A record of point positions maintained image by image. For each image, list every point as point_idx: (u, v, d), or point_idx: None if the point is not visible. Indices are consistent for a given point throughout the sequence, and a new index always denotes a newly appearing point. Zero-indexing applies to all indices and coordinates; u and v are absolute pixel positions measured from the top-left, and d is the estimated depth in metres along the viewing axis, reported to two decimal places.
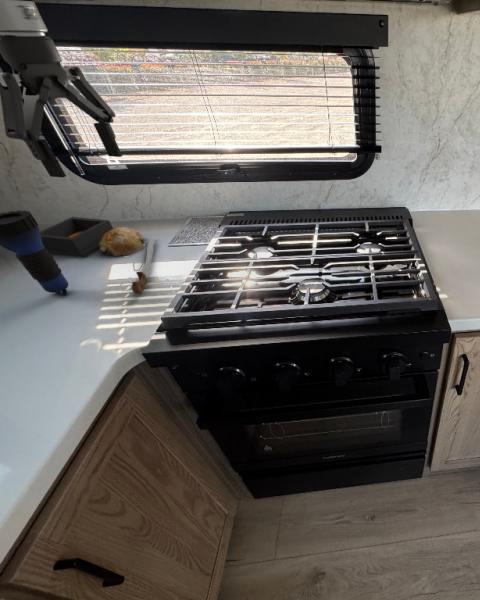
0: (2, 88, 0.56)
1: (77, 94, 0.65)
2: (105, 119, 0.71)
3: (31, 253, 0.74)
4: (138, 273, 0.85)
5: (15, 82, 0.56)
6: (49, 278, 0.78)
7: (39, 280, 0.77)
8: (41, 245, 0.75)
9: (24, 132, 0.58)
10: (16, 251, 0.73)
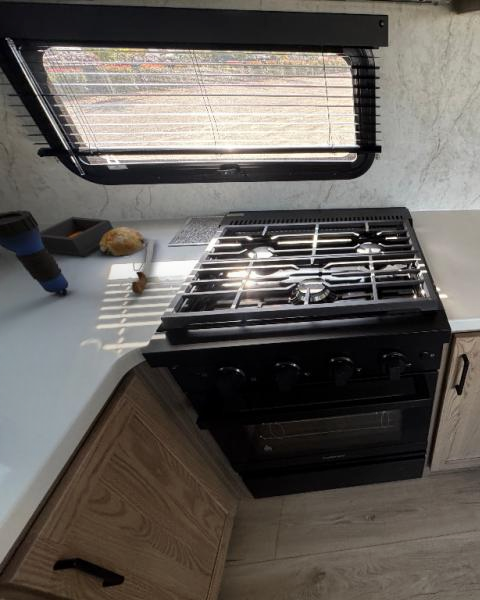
0: None
1: None
2: None
3: (31, 253, 0.74)
4: (138, 273, 0.85)
5: None
6: (49, 278, 0.78)
7: (39, 280, 0.77)
8: (41, 245, 0.75)
9: None
10: (16, 251, 0.73)
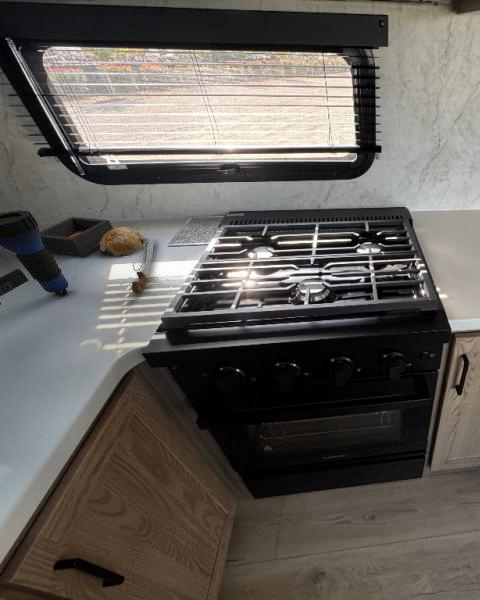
0: None
1: None
2: None
3: (31, 253, 0.74)
4: (138, 273, 0.85)
5: None
6: (49, 278, 0.78)
7: (39, 280, 0.77)
8: (41, 245, 0.75)
9: None
10: (16, 251, 0.73)
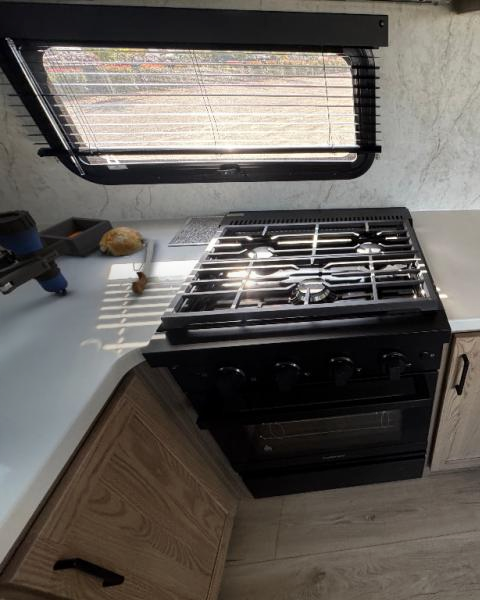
0: (14, 285, 0.68)
1: None
2: (5, 254, 0.74)
3: (30, 252, 0.74)
4: (138, 273, 0.85)
5: None
6: (48, 278, 0.78)
7: (38, 280, 0.77)
8: (39, 244, 0.75)
9: (36, 260, 0.72)
10: (14, 250, 0.73)
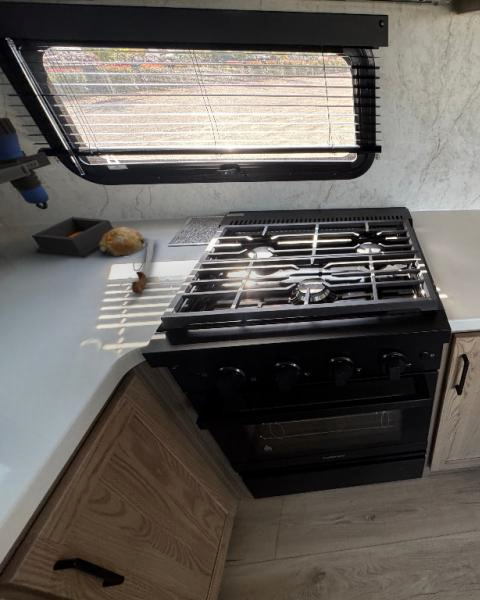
0: None
1: None
2: None
3: (10, 159, 0.77)
4: (138, 273, 0.85)
5: None
6: (29, 187, 0.81)
7: (19, 188, 0.80)
8: (20, 153, 0.78)
9: (16, 164, 0.75)
10: None
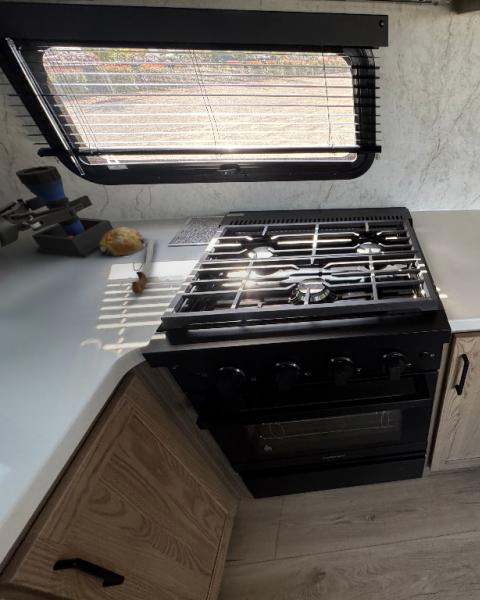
0: (43, 225, 0.85)
1: (10, 210, 0.86)
2: (22, 202, 0.91)
3: (56, 200, 0.92)
4: (138, 273, 0.85)
5: (31, 219, 0.83)
6: (70, 223, 0.95)
7: (62, 224, 0.95)
8: (63, 194, 0.93)
9: (66, 208, 0.89)
10: (44, 198, 0.90)
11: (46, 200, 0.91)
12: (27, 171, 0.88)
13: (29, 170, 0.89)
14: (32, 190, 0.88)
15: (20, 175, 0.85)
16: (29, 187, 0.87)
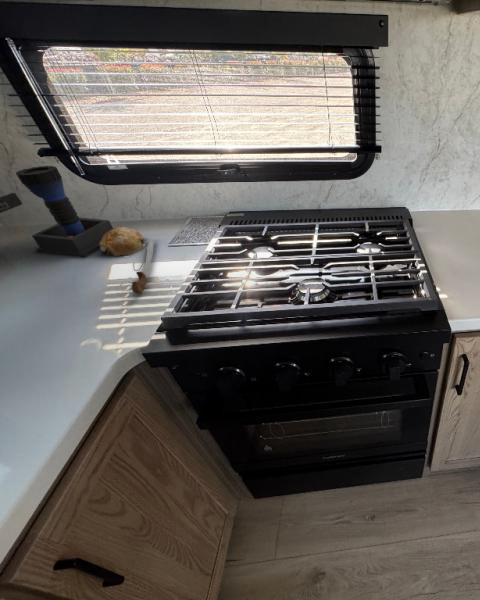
0: None
1: None
2: None
3: (56, 200, 0.92)
4: (138, 273, 0.85)
5: None
6: (70, 223, 0.95)
7: (62, 224, 0.95)
8: (64, 194, 0.93)
9: None
10: (44, 198, 0.90)
11: (46, 200, 0.91)
12: (27, 171, 0.88)
13: (29, 170, 0.89)
14: (32, 190, 0.88)
15: (20, 175, 0.85)
16: (29, 187, 0.87)
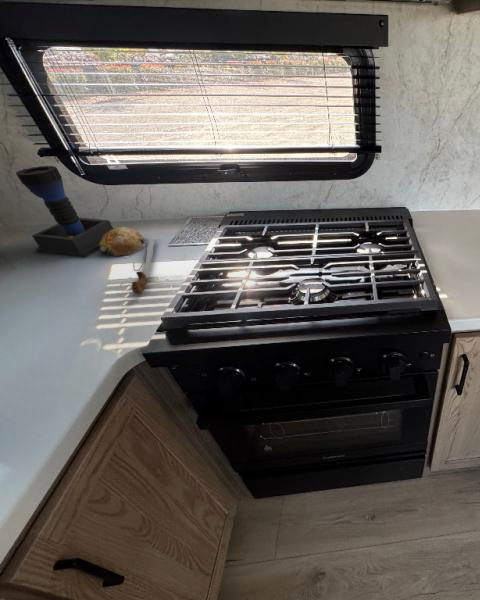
0: None
1: None
2: None
3: (56, 200, 0.92)
4: (138, 273, 0.85)
5: None
6: (70, 223, 0.95)
7: (62, 224, 0.95)
8: (64, 194, 0.93)
9: None
10: (44, 198, 0.90)
11: (46, 200, 0.91)
12: (27, 171, 0.88)
13: (29, 170, 0.89)
14: (32, 190, 0.88)
15: (20, 175, 0.85)
16: (29, 187, 0.87)
